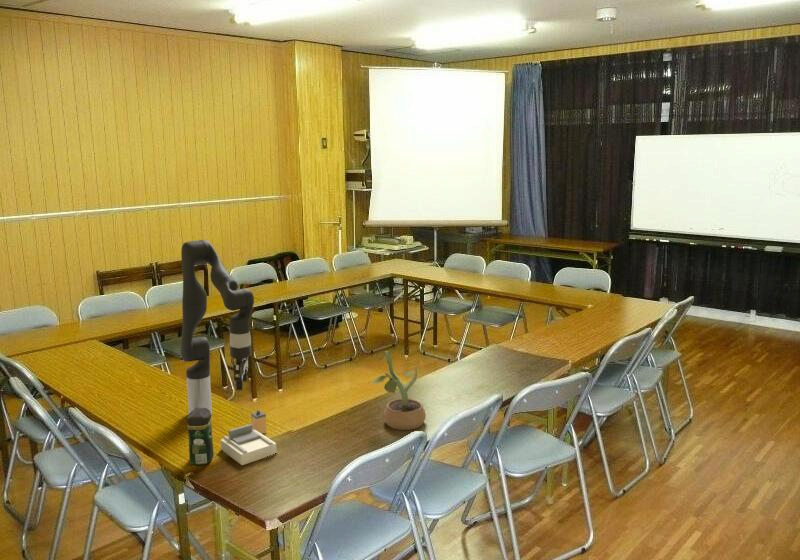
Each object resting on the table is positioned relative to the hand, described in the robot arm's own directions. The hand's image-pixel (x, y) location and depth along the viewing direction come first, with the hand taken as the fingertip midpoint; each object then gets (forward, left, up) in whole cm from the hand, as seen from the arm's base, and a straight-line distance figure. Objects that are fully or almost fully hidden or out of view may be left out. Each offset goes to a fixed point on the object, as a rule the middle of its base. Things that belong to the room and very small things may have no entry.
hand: (241, 385), depth 251 cm
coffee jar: (+1, -18, -24) cm, 29 cm away
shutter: (+3, -2, -19) cm, 19 cm away
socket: (+6, -2, -24) cm, 24 cm away
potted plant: (+21, +57, -24) cm, 66 cm away
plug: (-6, +9, -24) cm, 26 cm away
